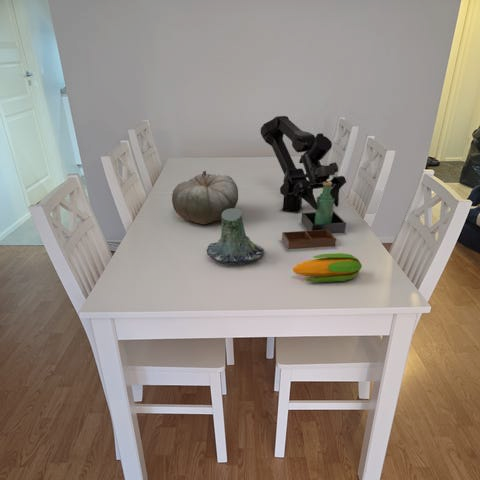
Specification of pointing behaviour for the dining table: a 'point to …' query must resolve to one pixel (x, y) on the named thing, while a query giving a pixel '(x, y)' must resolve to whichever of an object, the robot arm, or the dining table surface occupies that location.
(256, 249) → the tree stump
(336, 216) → the tray
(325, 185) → the green corked bottle
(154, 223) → the dining table surface
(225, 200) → the gourd
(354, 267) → the corn
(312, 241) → the wooden box
